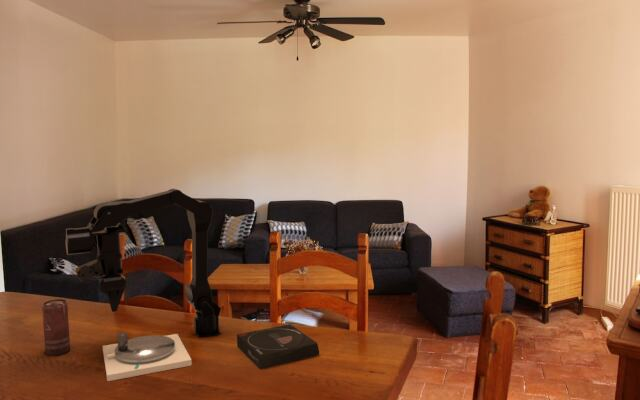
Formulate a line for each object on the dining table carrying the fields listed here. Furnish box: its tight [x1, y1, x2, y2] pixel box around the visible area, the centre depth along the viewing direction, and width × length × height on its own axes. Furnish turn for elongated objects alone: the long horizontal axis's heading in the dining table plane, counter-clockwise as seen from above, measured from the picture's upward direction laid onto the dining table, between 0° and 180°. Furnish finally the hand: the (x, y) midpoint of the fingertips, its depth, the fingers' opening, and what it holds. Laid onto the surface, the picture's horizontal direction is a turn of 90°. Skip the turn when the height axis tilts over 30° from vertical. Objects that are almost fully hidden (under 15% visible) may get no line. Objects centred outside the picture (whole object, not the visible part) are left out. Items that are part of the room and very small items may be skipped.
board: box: [102, 333, 193, 382], centre depth 136 cm, size 20×20×2 cm
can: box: [41, 298, 71, 357], centre depth 140 cm, size 6×6×14 cm
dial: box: [106, 331, 175, 364], centre depth 136 cm, size 17×15×6 cm
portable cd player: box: [236, 324, 320, 370], centre depth 141 cm, size 16×17×4 cm
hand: (113, 306), depth 140 cm, fingers open, 9 cm apart
